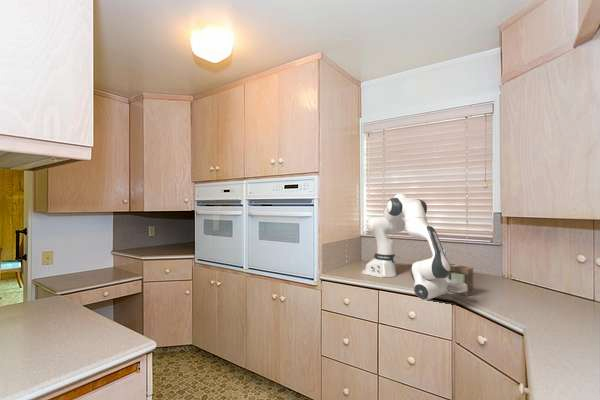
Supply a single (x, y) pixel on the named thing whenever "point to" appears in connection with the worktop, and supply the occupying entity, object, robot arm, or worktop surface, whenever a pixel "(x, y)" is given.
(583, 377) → the worktop surface
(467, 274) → the keypad console
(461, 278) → the key right
